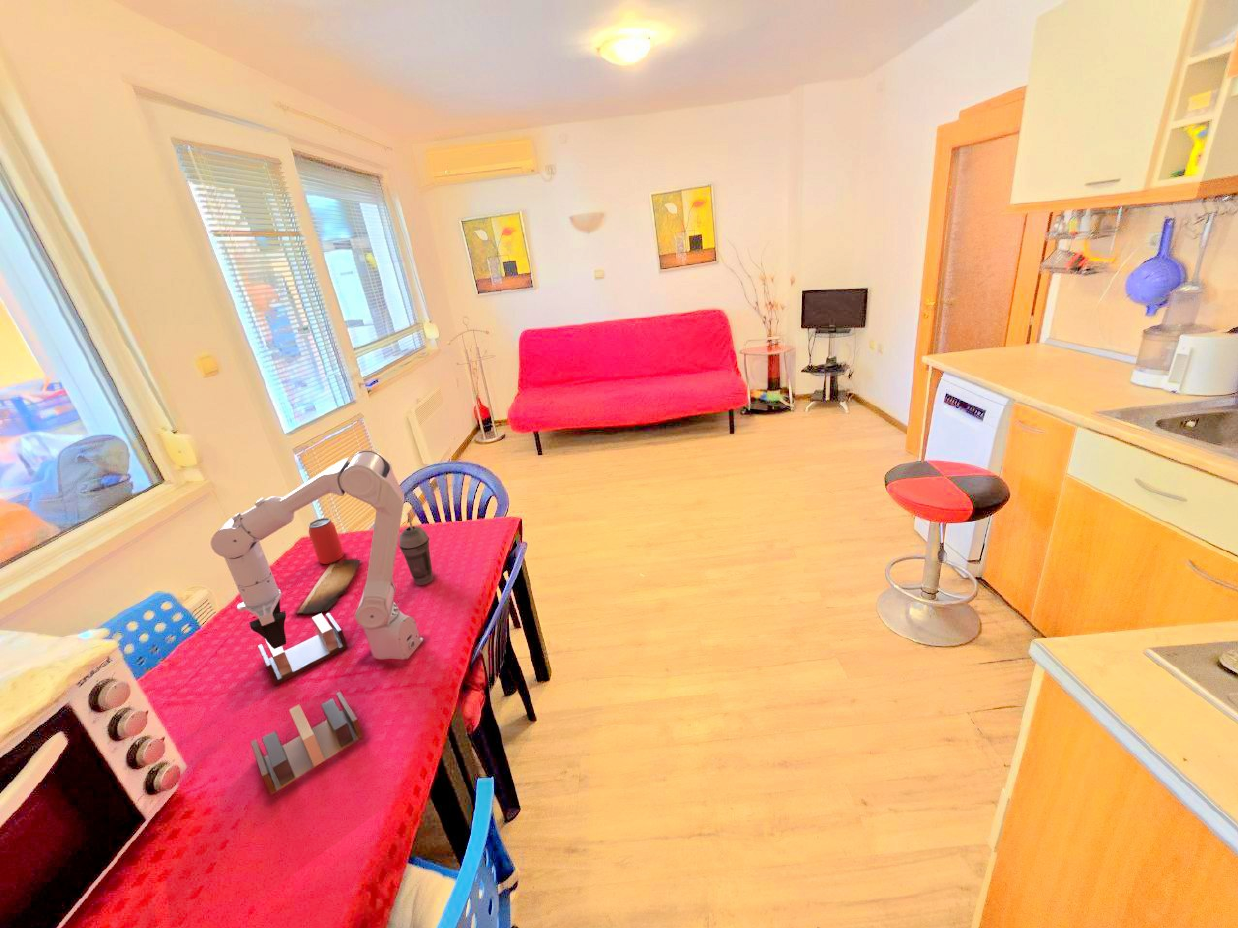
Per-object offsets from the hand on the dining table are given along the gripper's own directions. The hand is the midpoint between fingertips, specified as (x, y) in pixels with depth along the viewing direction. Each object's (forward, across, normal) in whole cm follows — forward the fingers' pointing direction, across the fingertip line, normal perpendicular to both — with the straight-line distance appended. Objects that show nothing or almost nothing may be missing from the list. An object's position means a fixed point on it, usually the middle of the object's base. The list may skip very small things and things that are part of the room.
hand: (278, 635), depth 100 cm
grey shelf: (+10, +24, 0) cm, 26 cm away
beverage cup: (+10, -15, +32) cm, 36 cm away
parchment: (+10, -30, +12) cm, 34 cm away
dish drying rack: (+10, -4, +3) cm, 11 cm away
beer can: (+10, -46, +14) cm, 50 cm away
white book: (+9, +24, 0) cm, 26 cm away
